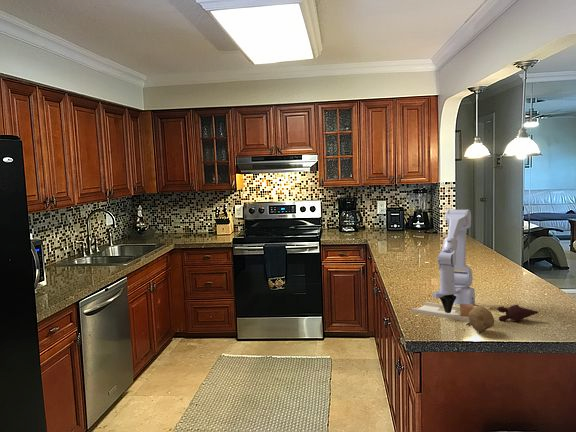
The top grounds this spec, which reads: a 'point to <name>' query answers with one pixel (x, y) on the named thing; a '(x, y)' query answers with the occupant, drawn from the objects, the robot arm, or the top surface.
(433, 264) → the top surface
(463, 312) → the block
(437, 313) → the lane
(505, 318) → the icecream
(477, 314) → the natural sponge
